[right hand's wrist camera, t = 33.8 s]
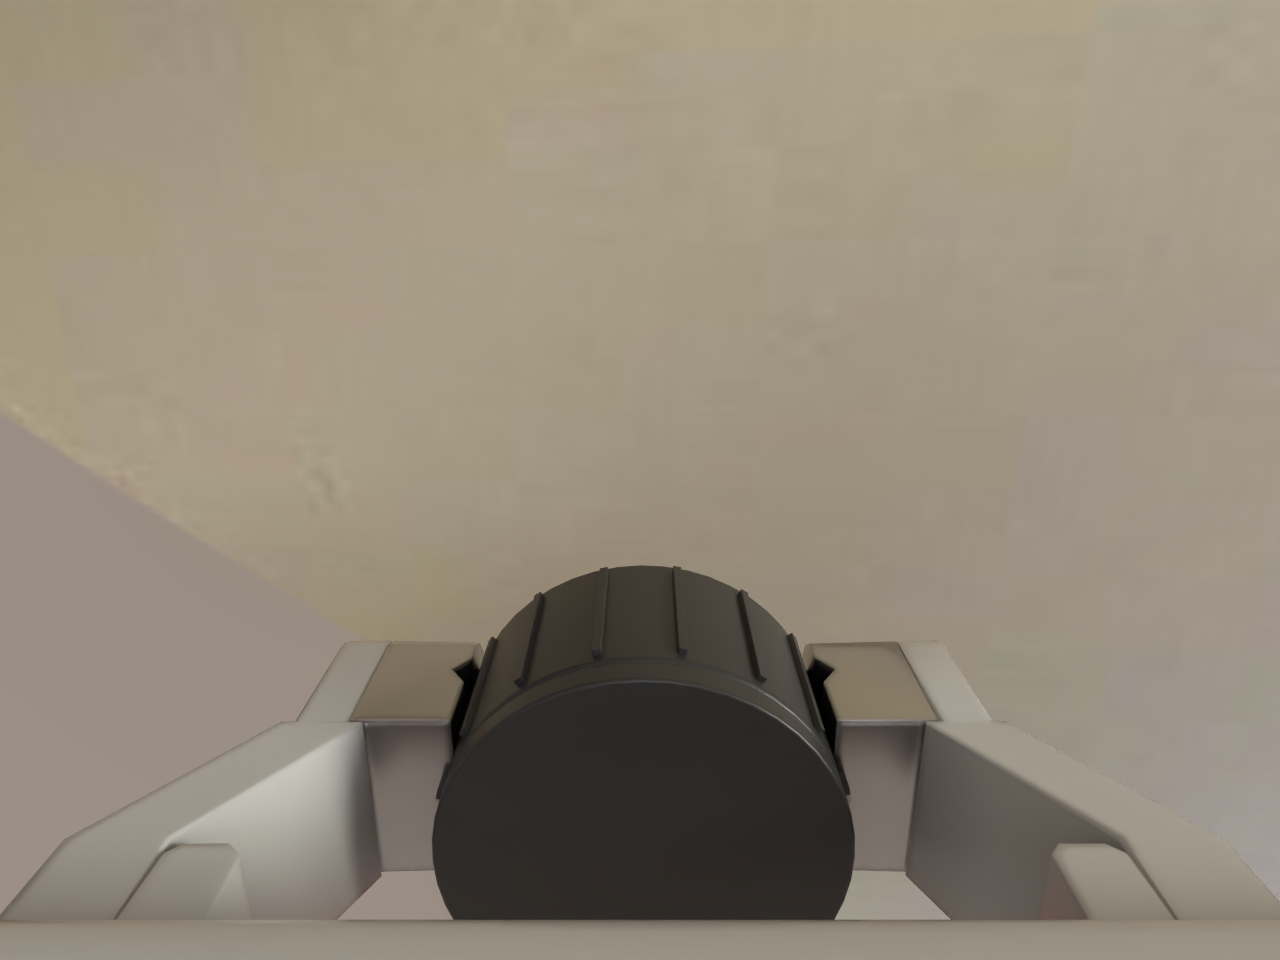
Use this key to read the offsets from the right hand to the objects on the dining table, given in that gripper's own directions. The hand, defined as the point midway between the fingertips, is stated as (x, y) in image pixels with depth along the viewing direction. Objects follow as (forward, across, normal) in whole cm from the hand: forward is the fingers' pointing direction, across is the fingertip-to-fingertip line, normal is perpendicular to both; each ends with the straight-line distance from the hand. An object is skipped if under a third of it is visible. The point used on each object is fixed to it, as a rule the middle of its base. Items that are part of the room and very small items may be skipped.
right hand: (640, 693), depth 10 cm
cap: (-2, 0, 0) cm, 2 cm away
